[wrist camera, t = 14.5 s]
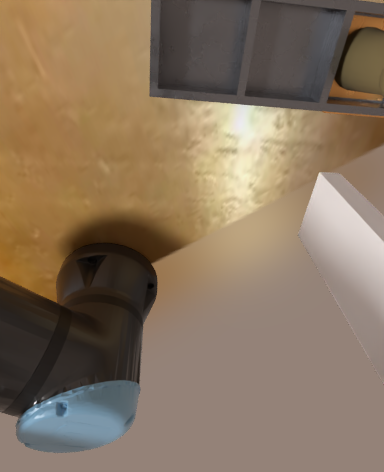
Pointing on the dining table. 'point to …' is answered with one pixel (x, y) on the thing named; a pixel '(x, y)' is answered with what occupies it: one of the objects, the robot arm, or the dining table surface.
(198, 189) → the dining table surface
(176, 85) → the rack
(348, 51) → the olive pawn-shaped piece
